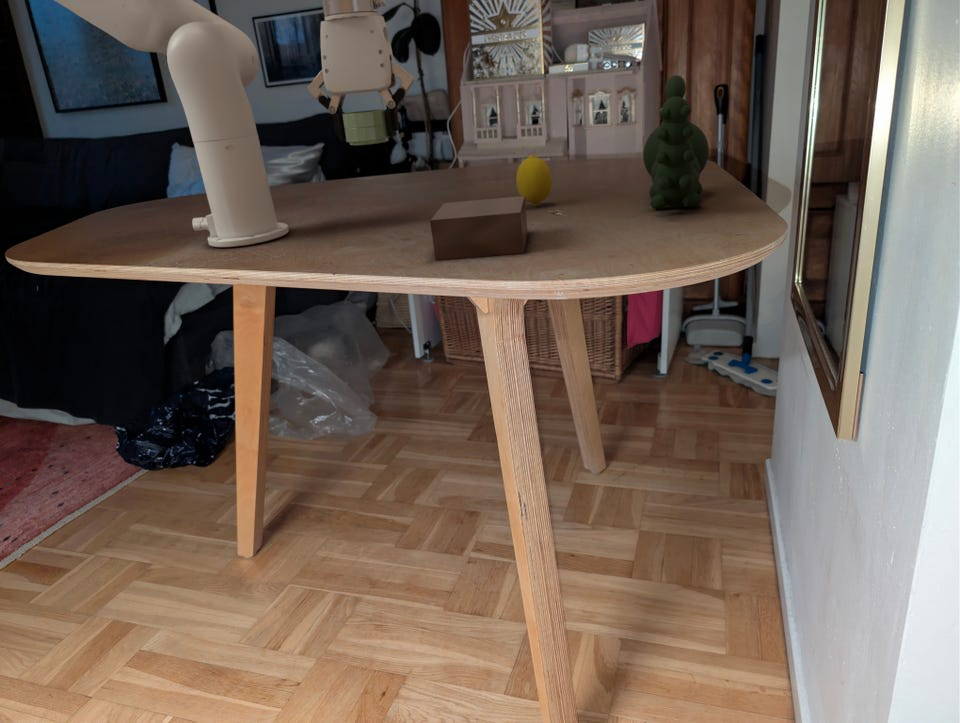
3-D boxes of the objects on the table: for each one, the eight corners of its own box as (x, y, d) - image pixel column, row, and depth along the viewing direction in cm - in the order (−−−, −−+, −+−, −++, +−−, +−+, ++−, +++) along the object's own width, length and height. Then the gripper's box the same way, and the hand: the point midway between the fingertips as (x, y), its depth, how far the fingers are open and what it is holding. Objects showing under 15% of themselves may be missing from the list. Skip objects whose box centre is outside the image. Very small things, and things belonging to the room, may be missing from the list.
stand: (435, 260, 87) (429, 220, 85) (448, 239, 97) (443, 203, 95) (523, 253, 85) (520, 212, 83) (527, 232, 95) (524, 195, 93)
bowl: (341, 147, 104) (336, 115, 102) (353, 142, 110) (348, 112, 109) (385, 143, 103) (381, 111, 102) (395, 138, 110) (391, 108, 108)
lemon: (531, 202, 116) (527, 152, 113) (559, 203, 112) (556, 151, 109) (511, 209, 112) (507, 157, 109) (540, 210, 109) (536, 157, 105)
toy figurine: (712, 231, 92) (706, 180, 113) (716, 77, 83) (708, 54, 104) (638, 234, 95) (646, 184, 116) (635, 86, 86) (643, 61, 107)
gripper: (414, 3, 102) (428, 131, 109) (300, 16, 104) (321, 140, 111) (403, -1, 95) (419, 136, 102) (282, 13, 97) (305, 145, 104)
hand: (368, 137), depth 107 cm, fingers closed on bowl, 6 cm apart
